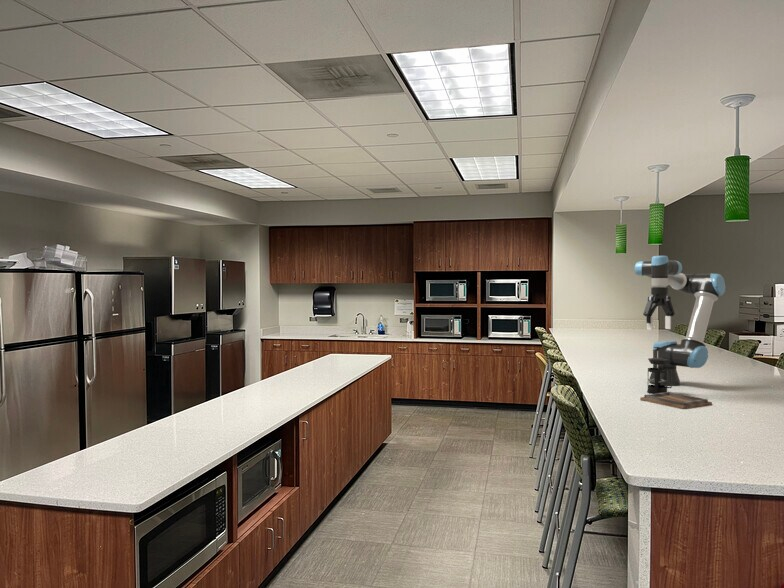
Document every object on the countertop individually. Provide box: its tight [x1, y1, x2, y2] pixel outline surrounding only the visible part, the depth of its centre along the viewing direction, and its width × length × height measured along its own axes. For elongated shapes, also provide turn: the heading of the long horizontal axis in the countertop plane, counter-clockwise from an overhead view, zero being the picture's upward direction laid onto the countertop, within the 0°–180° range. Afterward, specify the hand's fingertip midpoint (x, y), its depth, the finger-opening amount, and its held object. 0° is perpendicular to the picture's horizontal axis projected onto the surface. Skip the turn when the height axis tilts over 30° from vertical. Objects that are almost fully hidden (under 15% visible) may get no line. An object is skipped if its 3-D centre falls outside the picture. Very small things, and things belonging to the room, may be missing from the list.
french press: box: [646, 347, 673, 394], centre depth 288 cm, size 12×9×23 cm
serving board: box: [640, 391, 713, 410], centre depth 265 cm, size 20×22×2 cm
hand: (658, 329), depth 288 cm, fingers open, 13 cm apart
